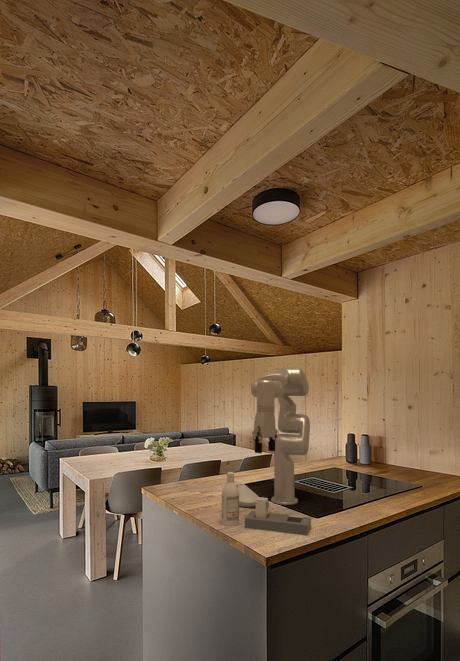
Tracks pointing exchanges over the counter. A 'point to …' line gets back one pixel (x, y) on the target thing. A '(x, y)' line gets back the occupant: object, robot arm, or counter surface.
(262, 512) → the plug
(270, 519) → the socket block
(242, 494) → the spoon rest
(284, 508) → the counter surface
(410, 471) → the counter surface
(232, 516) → the bath foam
